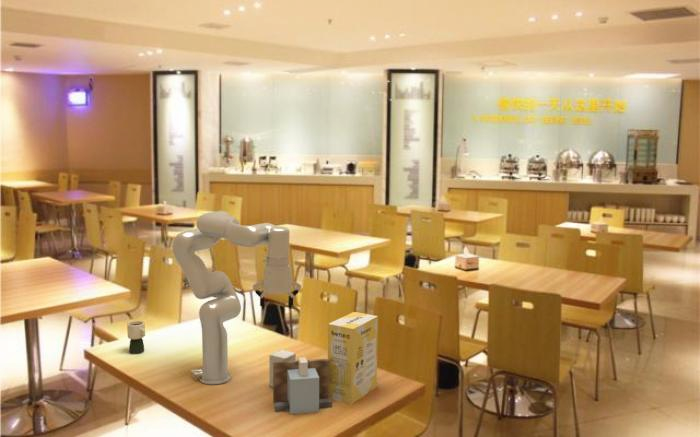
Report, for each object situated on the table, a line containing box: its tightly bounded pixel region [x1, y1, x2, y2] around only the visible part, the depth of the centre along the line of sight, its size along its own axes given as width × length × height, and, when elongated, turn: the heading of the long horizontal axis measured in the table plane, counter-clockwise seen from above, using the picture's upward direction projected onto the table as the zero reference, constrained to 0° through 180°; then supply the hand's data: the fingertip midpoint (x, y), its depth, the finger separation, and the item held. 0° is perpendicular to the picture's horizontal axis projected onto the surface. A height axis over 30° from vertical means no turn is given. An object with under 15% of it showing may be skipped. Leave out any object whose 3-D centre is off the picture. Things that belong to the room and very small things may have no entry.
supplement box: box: [268, 349, 297, 388], centre depth 245 cm, size 7×7×13 cm
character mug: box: [126, 320, 146, 354], centre depth 277 cm, size 11×7×13 cm, turn 58°
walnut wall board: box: [272, 358, 333, 413], centre depth 228 cm, size 20×8×15 cm, turn 102°
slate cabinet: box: [287, 356, 320, 415], centre depth 225 cm, size 10×9×18 cm
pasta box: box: [327, 311, 379, 405], centre depth 238 cm, size 18×10×28 cm, turn 149°
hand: (276, 307), depth 230 cm, fingers open, 9 cm apart
